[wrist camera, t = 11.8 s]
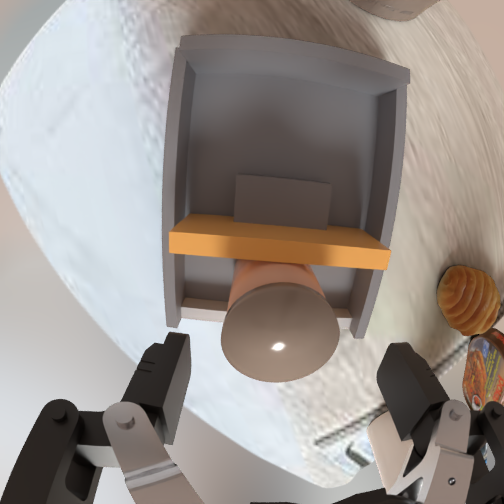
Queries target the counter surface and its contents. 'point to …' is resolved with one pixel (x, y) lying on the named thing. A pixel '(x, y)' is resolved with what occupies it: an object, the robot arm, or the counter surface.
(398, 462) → the cylindrical container
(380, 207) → the lane
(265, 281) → the jar
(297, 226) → the pusher
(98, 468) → the robot arm
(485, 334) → the tin
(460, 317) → the pastry
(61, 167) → the counter surface
